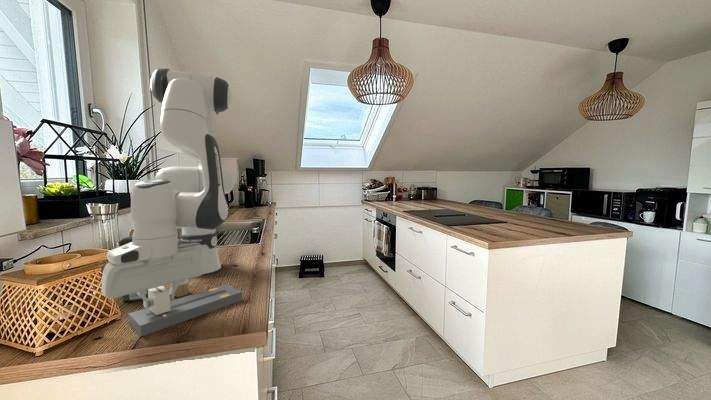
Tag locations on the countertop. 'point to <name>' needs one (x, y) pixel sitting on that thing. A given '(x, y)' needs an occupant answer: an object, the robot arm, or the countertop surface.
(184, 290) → the sprinkles bottle
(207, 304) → the slider console
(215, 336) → the countertop surface
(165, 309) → the fader tab
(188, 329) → the countertop surface
